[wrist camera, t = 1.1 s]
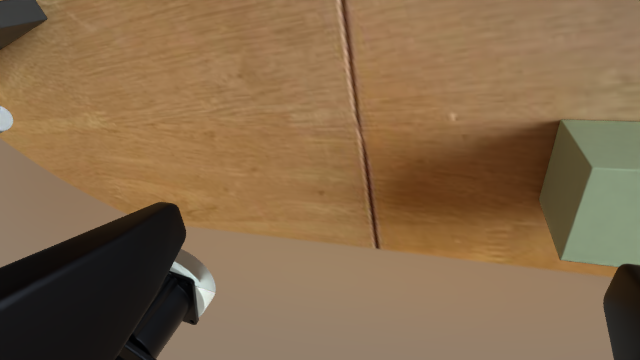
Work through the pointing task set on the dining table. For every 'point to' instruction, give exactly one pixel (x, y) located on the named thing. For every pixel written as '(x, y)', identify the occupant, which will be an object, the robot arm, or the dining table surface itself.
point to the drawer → (16, 33)
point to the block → (594, 192)
